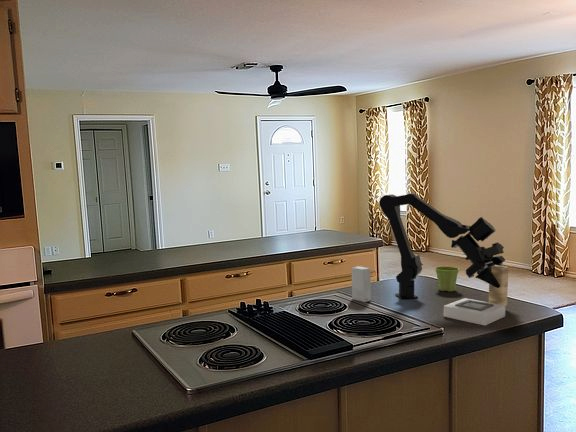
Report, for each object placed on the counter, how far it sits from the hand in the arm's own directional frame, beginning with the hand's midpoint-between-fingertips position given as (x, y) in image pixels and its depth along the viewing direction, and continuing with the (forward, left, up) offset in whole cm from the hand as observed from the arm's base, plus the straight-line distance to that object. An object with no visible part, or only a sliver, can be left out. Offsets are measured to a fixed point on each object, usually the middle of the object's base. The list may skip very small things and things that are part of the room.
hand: (502, 286), depth 172 cm
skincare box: (-25, -41, -9) cm, 49 cm away
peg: (-1, -1, -7) cm, 7 cm away
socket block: (+4, -13, -8) cm, 16 cm away
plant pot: (-31, -3, -9) cm, 32 cm away
